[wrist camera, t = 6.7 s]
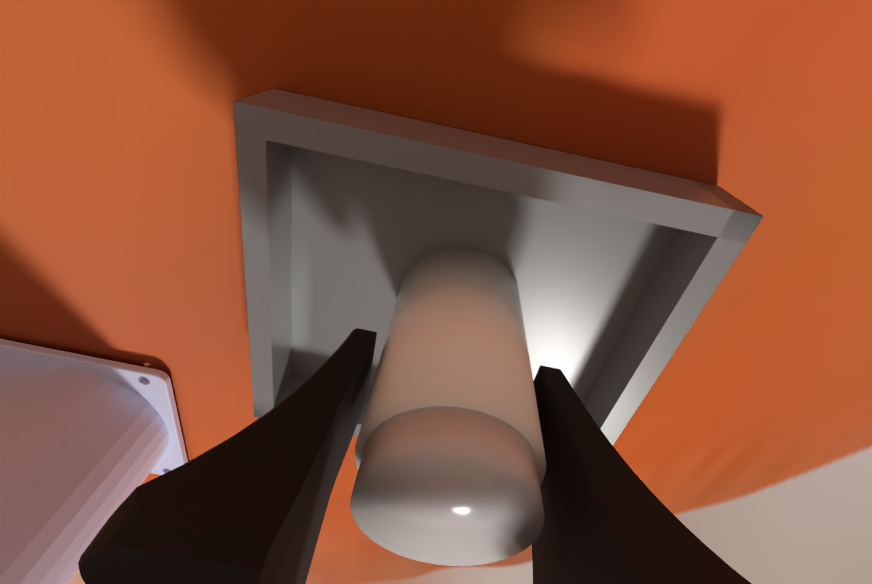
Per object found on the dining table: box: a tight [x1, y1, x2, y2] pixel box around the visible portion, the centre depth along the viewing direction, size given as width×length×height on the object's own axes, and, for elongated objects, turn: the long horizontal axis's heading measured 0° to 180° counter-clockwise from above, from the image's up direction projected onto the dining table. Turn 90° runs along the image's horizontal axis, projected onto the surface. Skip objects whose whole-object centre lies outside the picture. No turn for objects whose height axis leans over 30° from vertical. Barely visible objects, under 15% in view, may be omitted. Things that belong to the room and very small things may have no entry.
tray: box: [233, 88, 763, 446], centre depth 15 cm, size 14×12×2 cm
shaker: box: [350, 246, 546, 566], centre depth 12 cm, size 4×4×8 cm
